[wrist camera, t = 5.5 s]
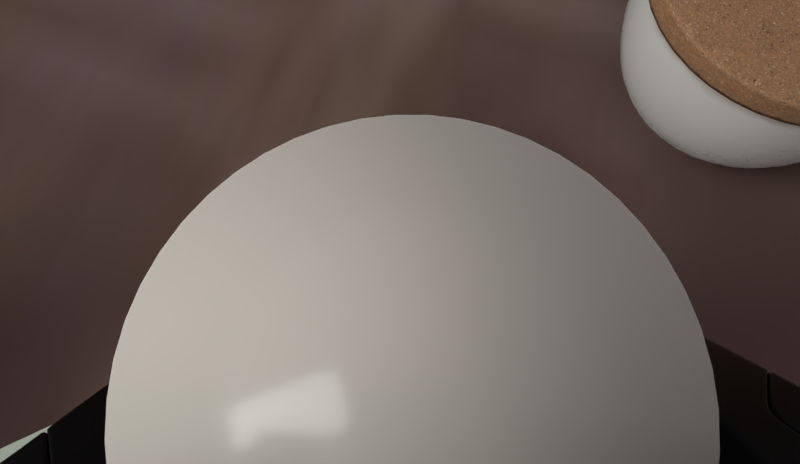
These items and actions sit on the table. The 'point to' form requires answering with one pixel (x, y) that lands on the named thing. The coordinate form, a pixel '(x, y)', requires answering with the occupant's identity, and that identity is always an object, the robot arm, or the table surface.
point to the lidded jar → (717, 77)
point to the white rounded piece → (411, 314)
